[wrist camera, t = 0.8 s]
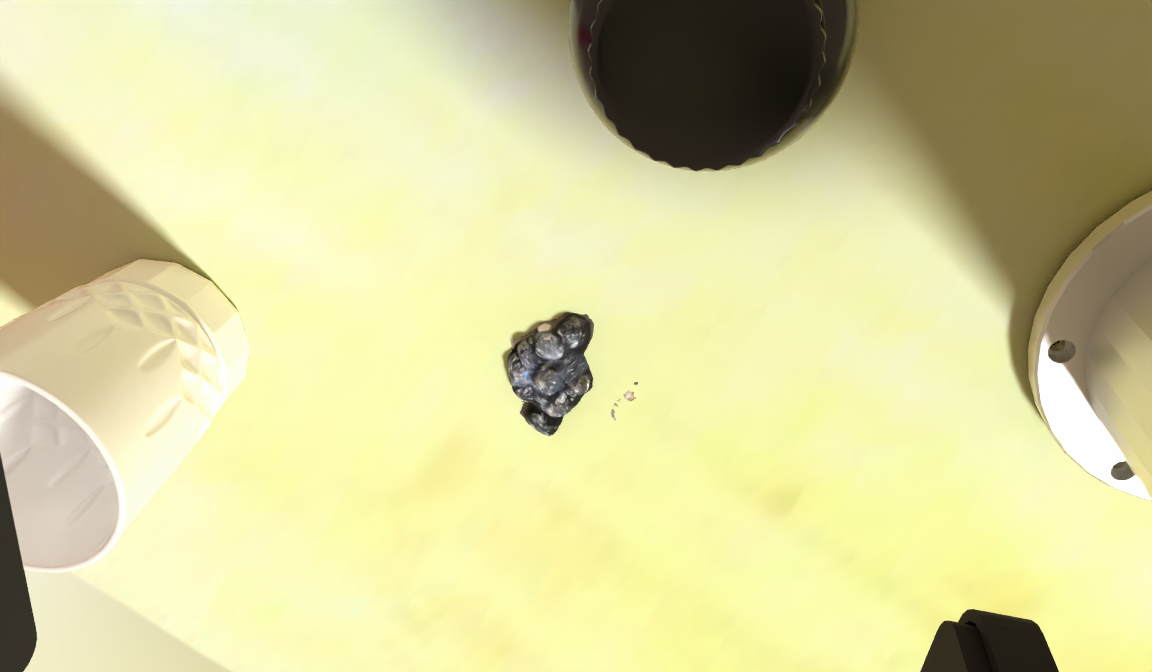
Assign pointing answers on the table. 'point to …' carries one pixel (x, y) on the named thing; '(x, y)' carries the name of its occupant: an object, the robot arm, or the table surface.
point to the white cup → (109, 403)
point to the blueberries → (552, 370)
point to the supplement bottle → (711, 73)
